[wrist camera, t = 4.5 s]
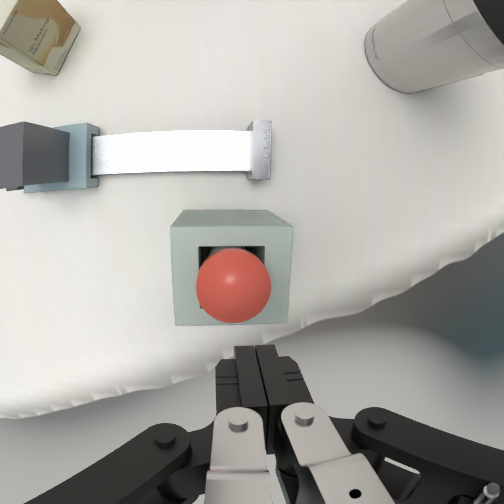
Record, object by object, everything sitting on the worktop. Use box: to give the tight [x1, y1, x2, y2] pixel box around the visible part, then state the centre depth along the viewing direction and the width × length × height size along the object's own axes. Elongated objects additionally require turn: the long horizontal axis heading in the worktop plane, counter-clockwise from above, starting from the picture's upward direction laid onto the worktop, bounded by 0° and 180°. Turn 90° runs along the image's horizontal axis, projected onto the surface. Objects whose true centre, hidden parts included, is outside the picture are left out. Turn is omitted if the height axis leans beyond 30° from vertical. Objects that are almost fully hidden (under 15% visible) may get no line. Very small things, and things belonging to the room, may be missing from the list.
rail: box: [6, 120, 271, 191], centre depth 26 cm, size 25×5×4 cm, turn 89°
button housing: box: [170, 210, 292, 326], centre depth 26 cm, size 8×7×10 cm
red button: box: [196, 246, 271, 323], centre depth 24 cm, size 5×5×10 cm
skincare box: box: [0, 0, 80, 75], centre depth 18 cm, size 6×4×12 cm
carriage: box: [0, 122, 99, 193], centre depth 21 cm, size 7×6×11 cm
